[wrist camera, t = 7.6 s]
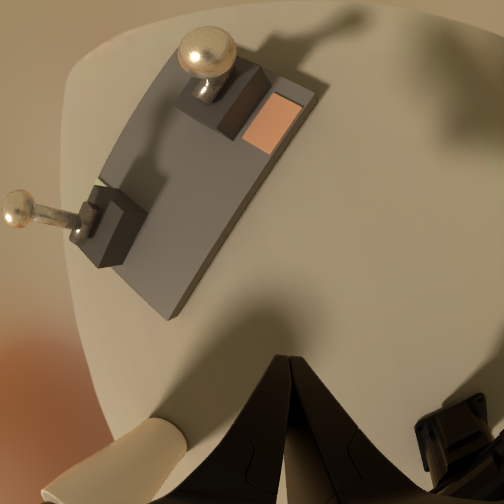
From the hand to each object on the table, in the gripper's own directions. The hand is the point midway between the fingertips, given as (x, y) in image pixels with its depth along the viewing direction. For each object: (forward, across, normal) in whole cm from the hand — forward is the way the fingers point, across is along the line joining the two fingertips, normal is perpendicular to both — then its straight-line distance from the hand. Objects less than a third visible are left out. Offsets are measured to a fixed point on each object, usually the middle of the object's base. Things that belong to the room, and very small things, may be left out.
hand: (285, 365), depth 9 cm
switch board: (+17, +8, -4) cm, 19 cm away
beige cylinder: (+10, +8, +21) cm, 25 cm away
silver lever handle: (+13, +5, -10) cm, 17 cm away
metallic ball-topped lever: (+12, +14, 0) cm, 18 cm away
